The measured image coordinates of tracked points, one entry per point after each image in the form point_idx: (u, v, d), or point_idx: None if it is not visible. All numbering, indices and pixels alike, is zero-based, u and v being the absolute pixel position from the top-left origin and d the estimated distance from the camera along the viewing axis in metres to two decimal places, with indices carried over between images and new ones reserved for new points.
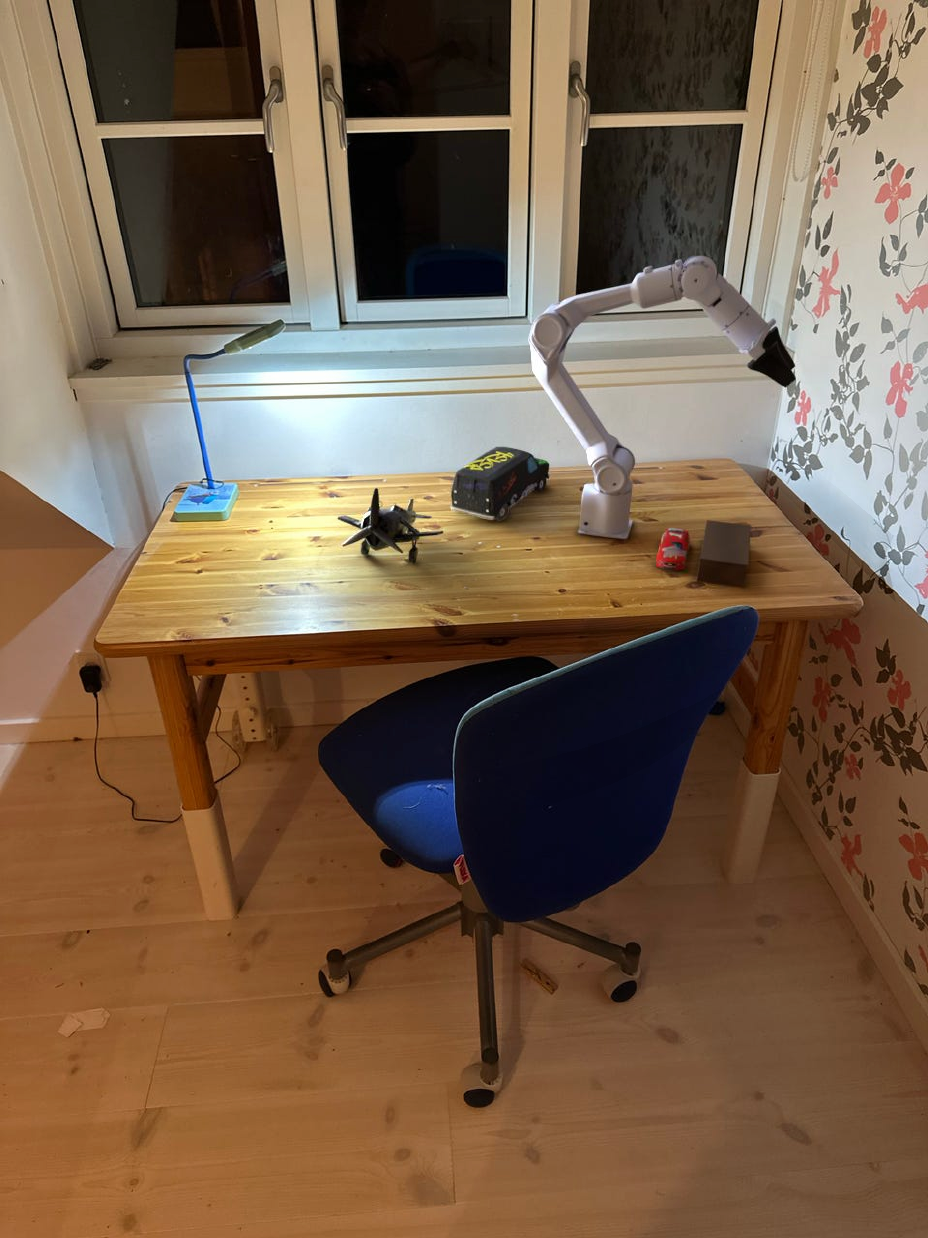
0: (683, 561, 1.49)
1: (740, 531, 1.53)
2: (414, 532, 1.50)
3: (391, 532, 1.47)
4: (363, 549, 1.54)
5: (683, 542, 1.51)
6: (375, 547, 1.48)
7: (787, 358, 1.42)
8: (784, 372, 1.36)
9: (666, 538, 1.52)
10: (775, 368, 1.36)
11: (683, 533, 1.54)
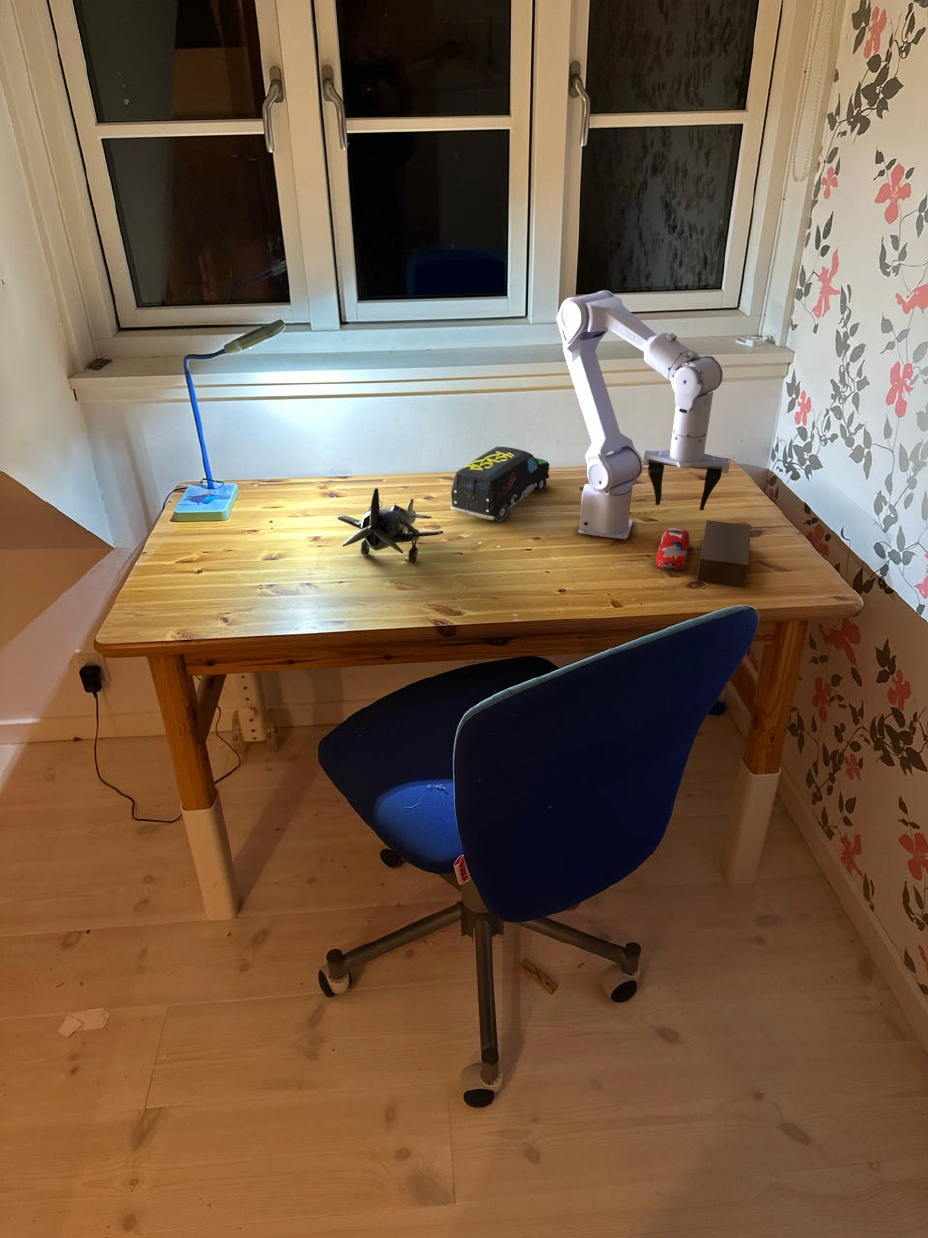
0: (683, 561, 1.49)
1: (740, 531, 1.53)
2: (414, 532, 1.50)
3: (391, 532, 1.47)
4: (363, 549, 1.54)
5: (683, 542, 1.51)
6: (375, 547, 1.48)
7: (701, 500, 1.46)
8: None
9: (666, 538, 1.52)
10: None
11: (683, 533, 1.54)
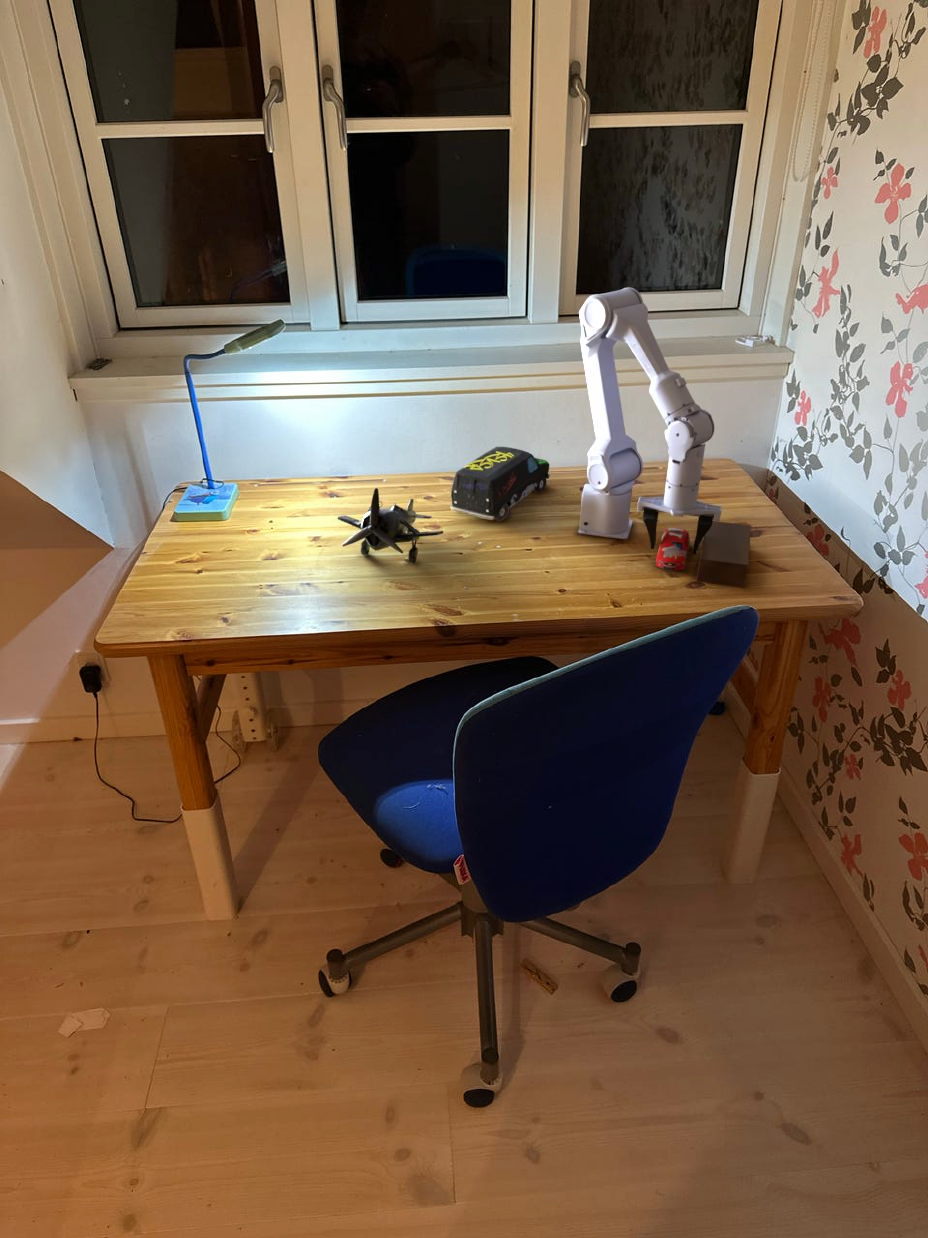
0: (683, 561, 1.49)
1: (740, 531, 1.53)
2: (414, 532, 1.50)
3: (391, 532, 1.47)
4: (363, 549, 1.54)
5: (683, 542, 1.51)
6: (375, 547, 1.48)
7: (693, 545, 1.51)
8: None
9: (666, 538, 1.52)
10: None
11: (683, 533, 1.54)
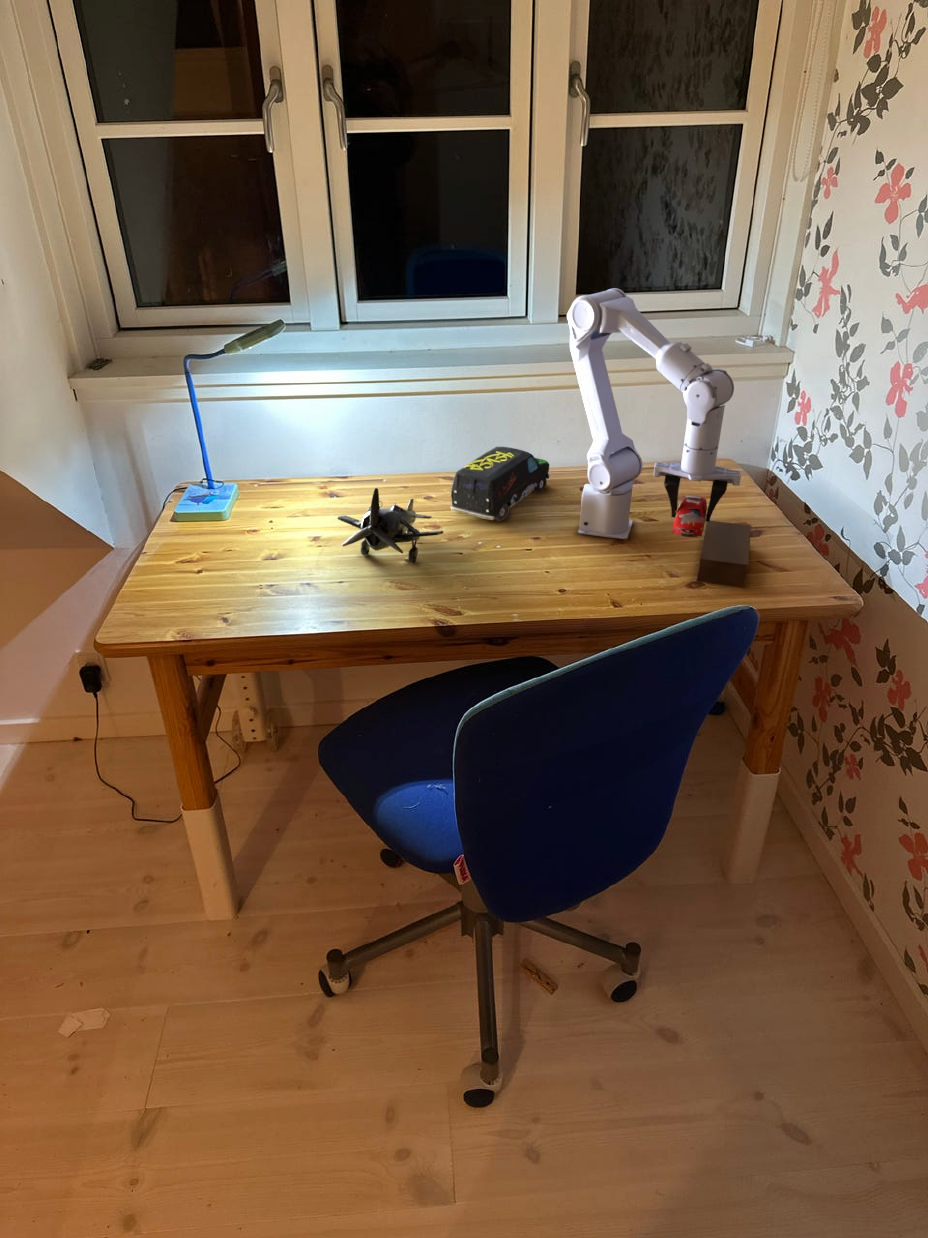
0: (701, 528, 1.44)
1: (740, 531, 1.53)
2: (414, 532, 1.50)
3: (391, 532, 1.47)
4: (363, 549, 1.54)
5: (701, 509, 1.47)
6: (375, 547, 1.48)
7: (707, 511, 1.47)
8: None
9: (683, 505, 1.48)
10: None
11: (701, 500, 1.49)
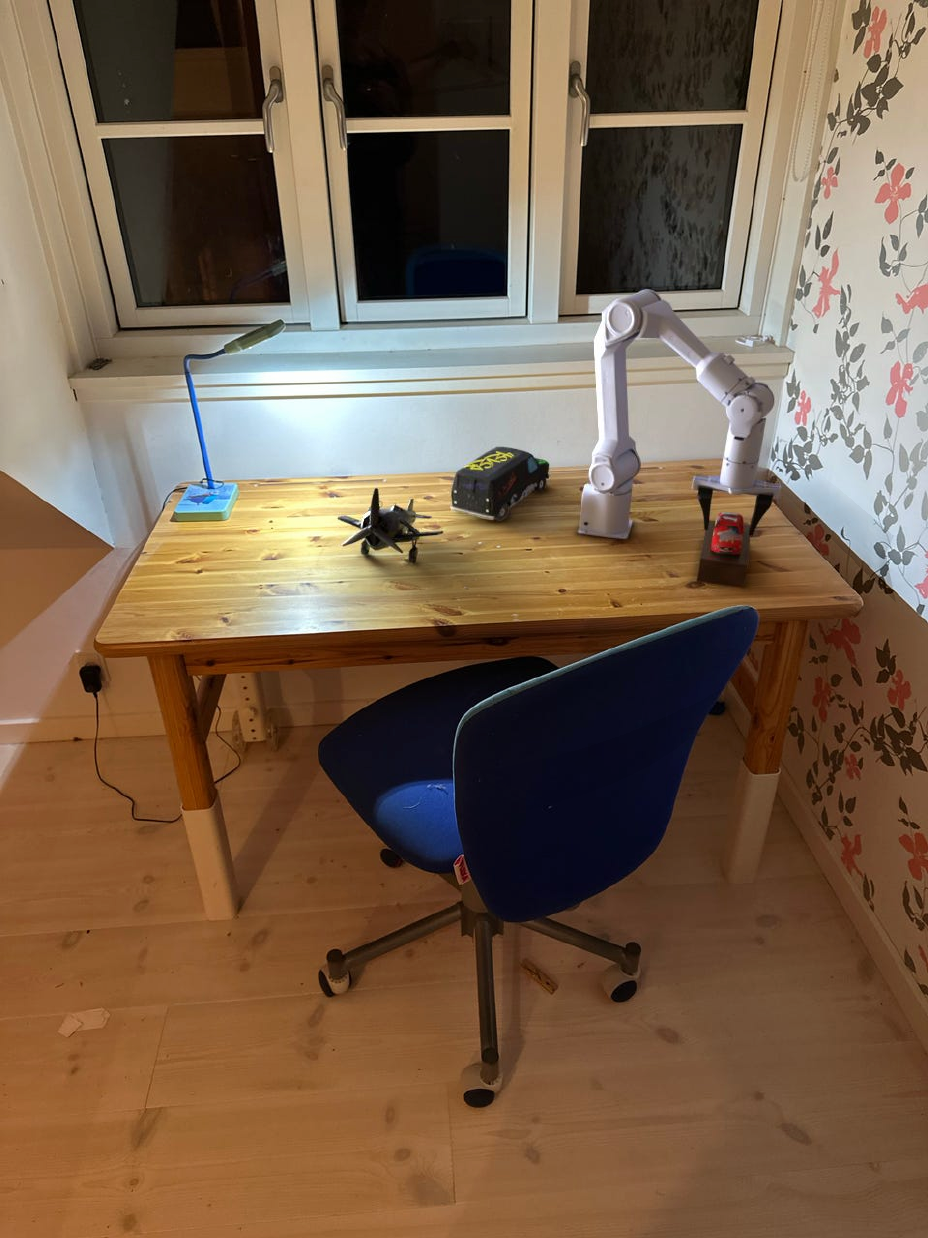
0: (740, 545, 1.44)
1: None
2: (414, 532, 1.50)
3: (391, 532, 1.47)
4: (363, 549, 1.54)
5: (739, 526, 1.46)
6: (375, 547, 1.48)
7: (750, 525, 1.46)
8: None
9: (721, 522, 1.48)
10: None
11: (738, 517, 1.49)
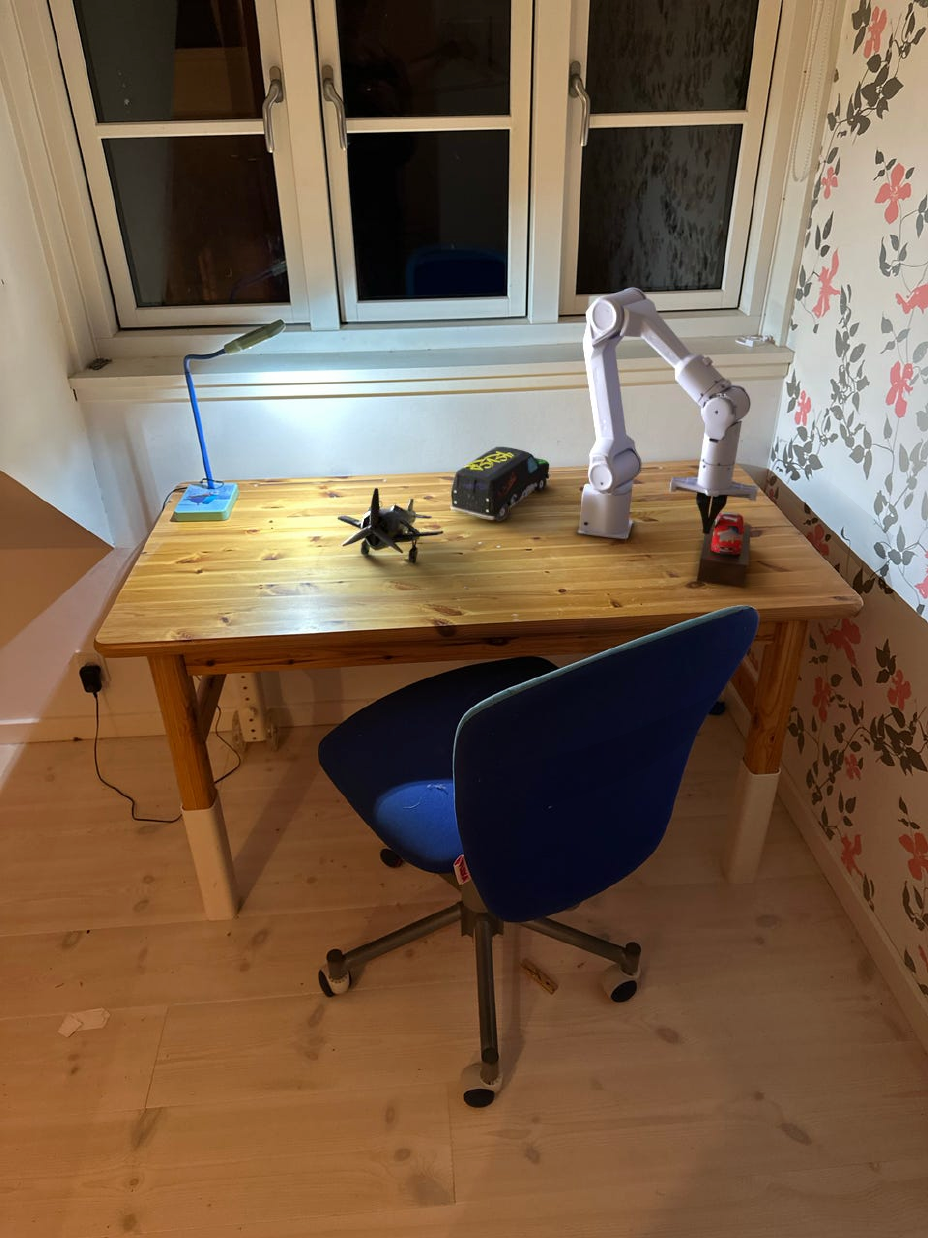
0: (740, 545, 1.44)
1: None
2: (414, 532, 1.50)
3: (391, 532, 1.47)
4: (363, 549, 1.54)
5: (739, 526, 1.47)
6: (375, 547, 1.48)
7: (707, 524, 1.48)
8: None
9: (721, 522, 1.48)
10: None
11: (738, 517, 1.49)
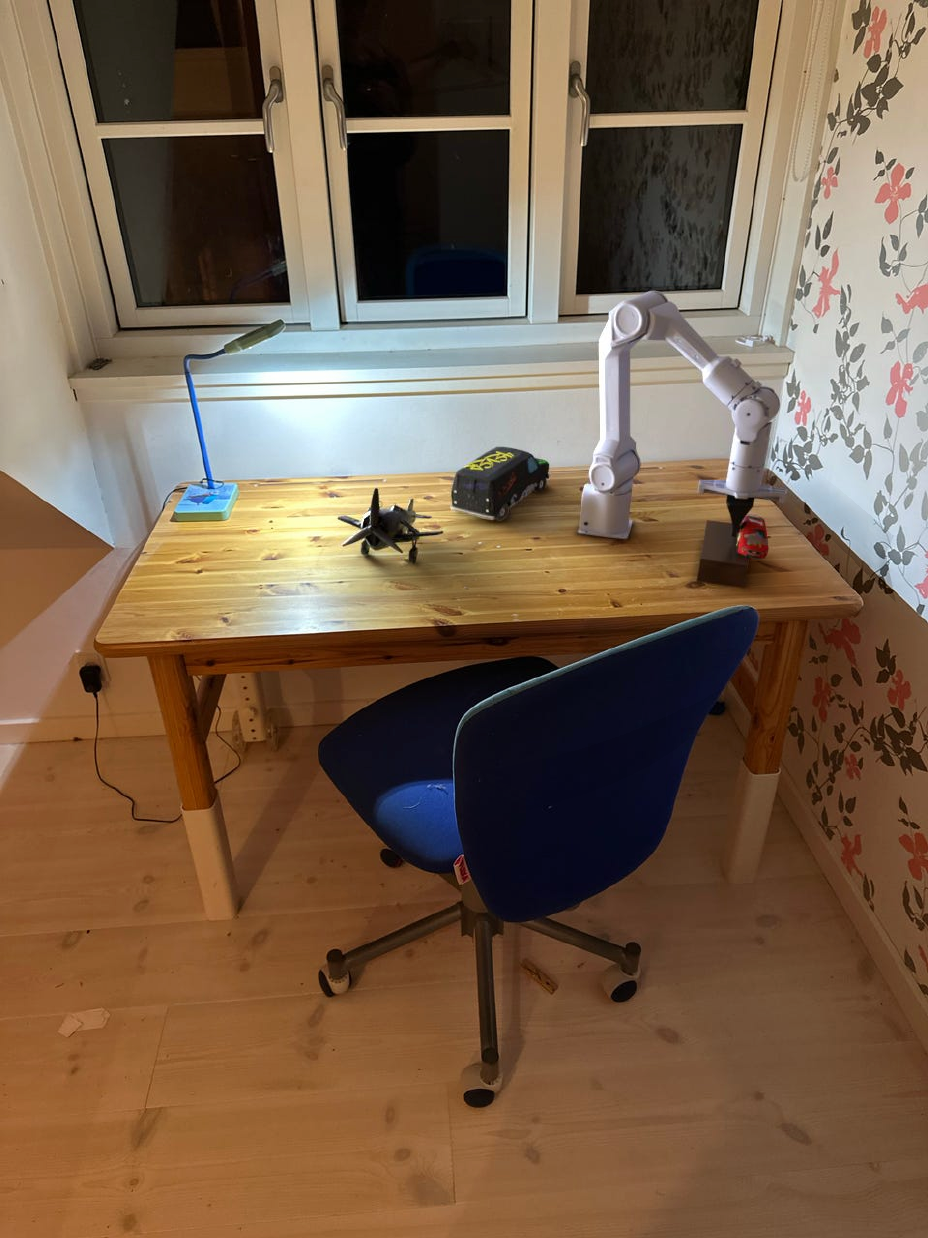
0: (767, 550, 1.43)
1: None
2: (414, 532, 1.50)
3: (391, 532, 1.47)
4: (363, 549, 1.54)
5: (765, 530, 1.46)
6: (375, 547, 1.48)
7: None
8: None
9: (747, 524, 1.46)
10: None
11: (762, 521, 1.48)
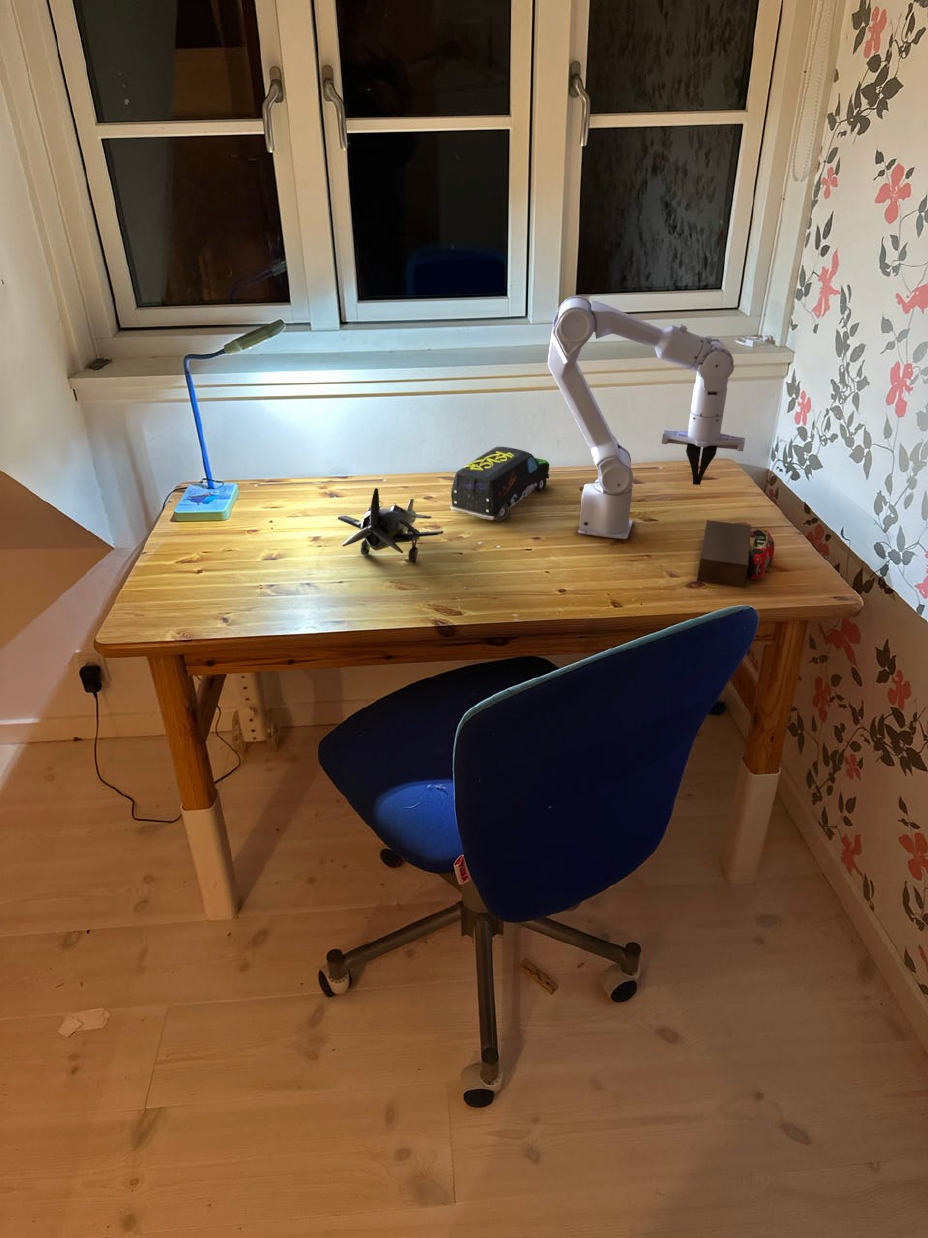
0: (759, 578, 1.46)
1: (740, 531, 1.53)
2: (414, 532, 1.50)
3: (391, 532, 1.47)
4: (363, 549, 1.54)
5: None
6: (375, 547, 1.48)
7: (698, 475, 1.55)
8: None
9: (773, 548, 1.48)
10: None
11: None
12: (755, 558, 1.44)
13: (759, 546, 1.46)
